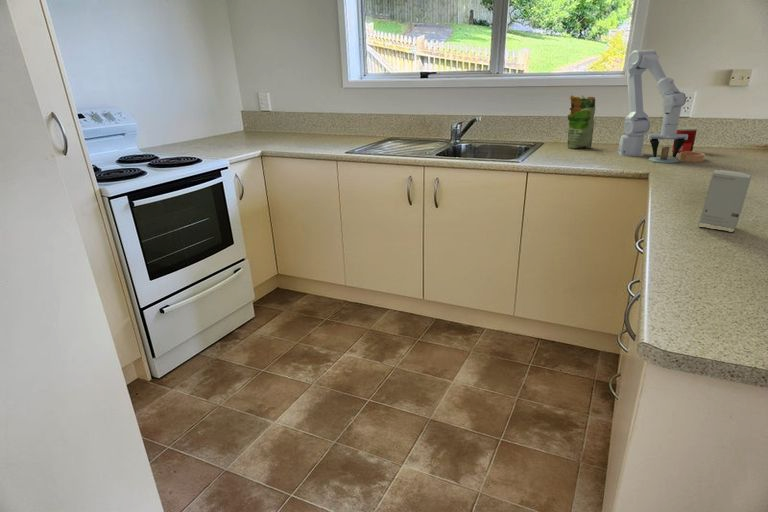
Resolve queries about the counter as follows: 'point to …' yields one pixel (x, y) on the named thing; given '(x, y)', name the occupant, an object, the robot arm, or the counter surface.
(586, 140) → the pouch
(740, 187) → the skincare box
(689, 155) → the bowl
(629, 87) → the robot arm
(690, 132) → the canned food
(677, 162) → the mat
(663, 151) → the lid
